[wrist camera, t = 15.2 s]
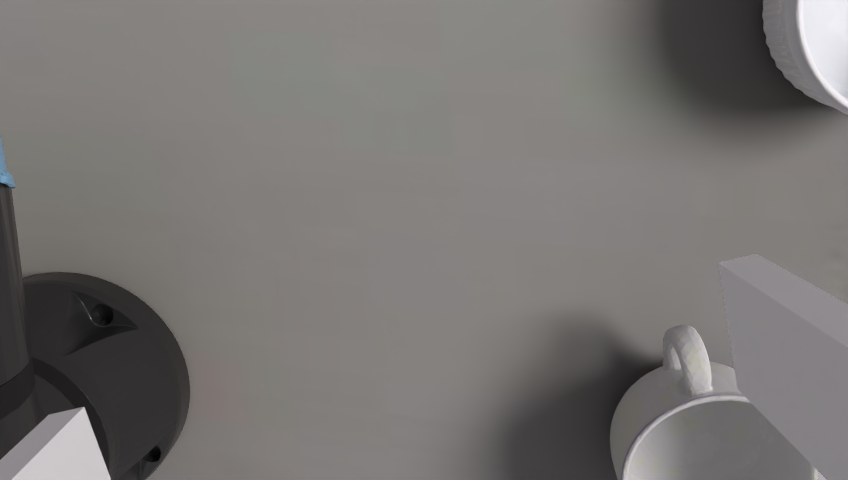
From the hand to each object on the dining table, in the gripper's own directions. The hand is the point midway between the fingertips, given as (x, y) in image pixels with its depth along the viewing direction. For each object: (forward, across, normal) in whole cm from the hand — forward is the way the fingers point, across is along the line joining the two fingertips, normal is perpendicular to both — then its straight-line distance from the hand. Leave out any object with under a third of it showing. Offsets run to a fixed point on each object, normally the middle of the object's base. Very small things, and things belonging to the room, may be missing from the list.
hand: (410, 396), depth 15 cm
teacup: (+32, +13, -18) cm, 39 cm away
